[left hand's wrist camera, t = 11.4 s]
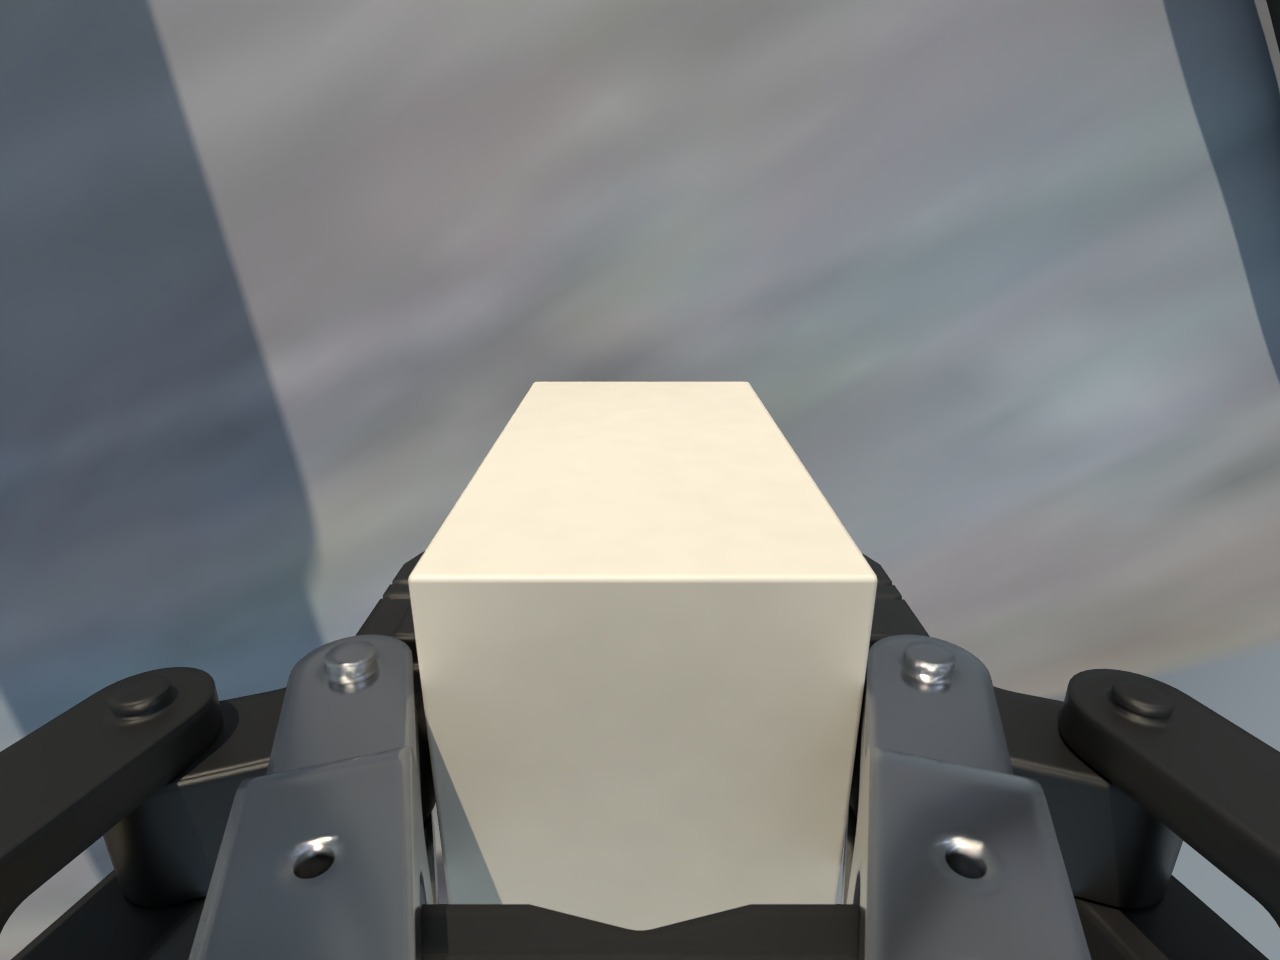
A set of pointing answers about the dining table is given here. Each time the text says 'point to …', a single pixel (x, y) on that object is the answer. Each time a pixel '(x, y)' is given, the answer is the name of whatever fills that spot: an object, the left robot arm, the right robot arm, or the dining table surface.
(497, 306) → the dining table surface
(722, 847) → the block
